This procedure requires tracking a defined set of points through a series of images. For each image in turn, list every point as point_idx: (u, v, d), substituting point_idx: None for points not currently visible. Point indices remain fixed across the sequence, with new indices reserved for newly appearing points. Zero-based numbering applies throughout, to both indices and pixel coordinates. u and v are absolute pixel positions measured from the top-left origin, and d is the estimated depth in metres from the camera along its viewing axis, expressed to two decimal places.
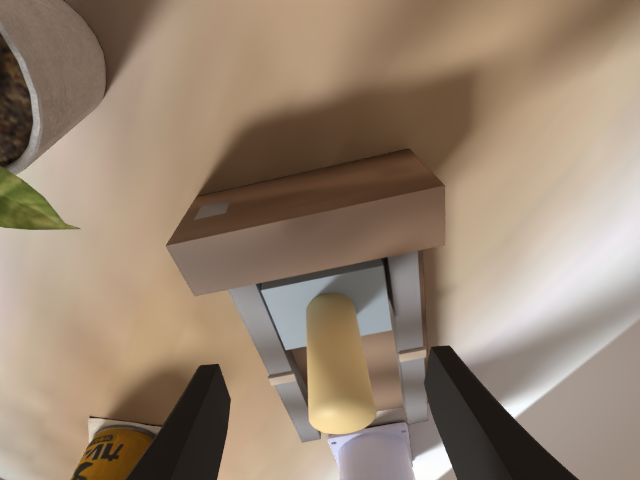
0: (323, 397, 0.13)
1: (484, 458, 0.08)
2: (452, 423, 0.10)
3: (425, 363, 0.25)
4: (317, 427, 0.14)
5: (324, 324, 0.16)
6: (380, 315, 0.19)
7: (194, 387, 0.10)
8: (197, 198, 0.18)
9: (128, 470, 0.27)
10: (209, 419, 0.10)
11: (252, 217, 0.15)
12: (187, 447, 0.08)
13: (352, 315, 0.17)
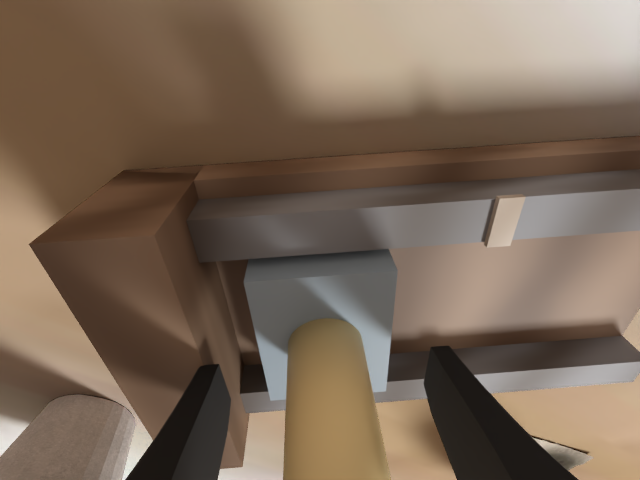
0: None
1: (484, 458, 0.08)
2: (452, 423, 0.10)
3: (590, 159, 0.11)
4: None
5: None
6: (352, 287, 0.11)
7: (194, 387, 0.10)
8: None
9: None
10: (209, 419, 0.10)
11: None
12: (188, 447, 0.08)
13: (303, 354, 0.11)
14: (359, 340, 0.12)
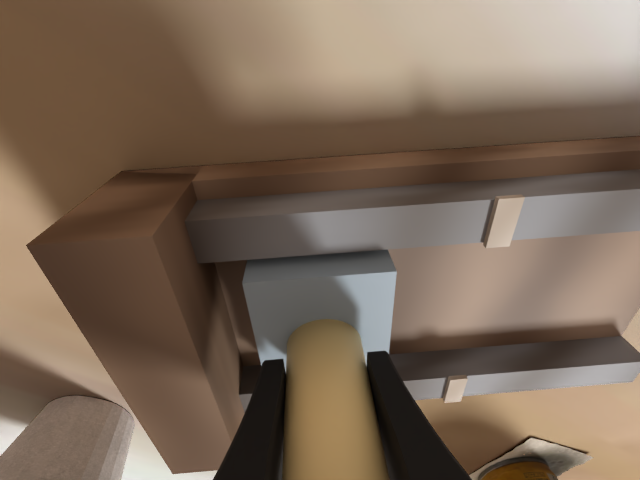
0: None
1: (399, 466, 0.08)
2: (381, 429, 0.10)
3: (589, 159, 0.11)
4: None
5: None
6: (351, 288, 0.11)
7: (265, 381, 0.10)
8: None
9: None
10: (281, 413, 0.10)
11: None
12: (270, 440, 0.08)
13: (302, 355, 0.10)
14: (358, 341, 0.12)
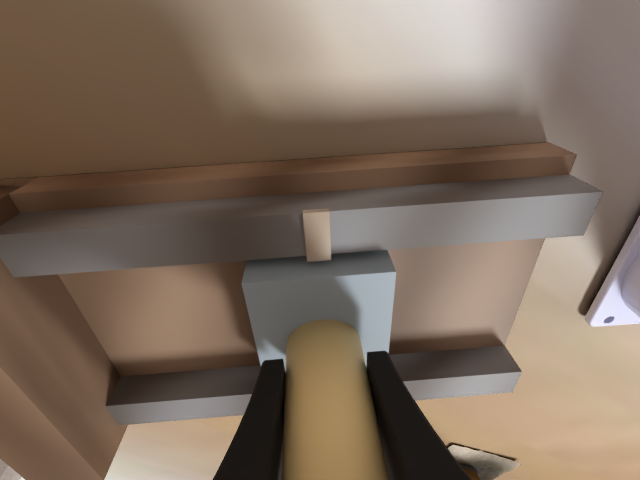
0: None
1: (399, 465, 0.08)
2: (380, 429, 0.10)
3: (417, 171, 0.11)
4: None
5: None
6: (351, 288, 0.11)
7: (265, 381, 0.10)
8: None
9: None
10: (281, 413, 0.10)
11: None
12: (270, 440, 0.08)
13: (302, 356, 0.10)
14: (358, 341, 0.11)
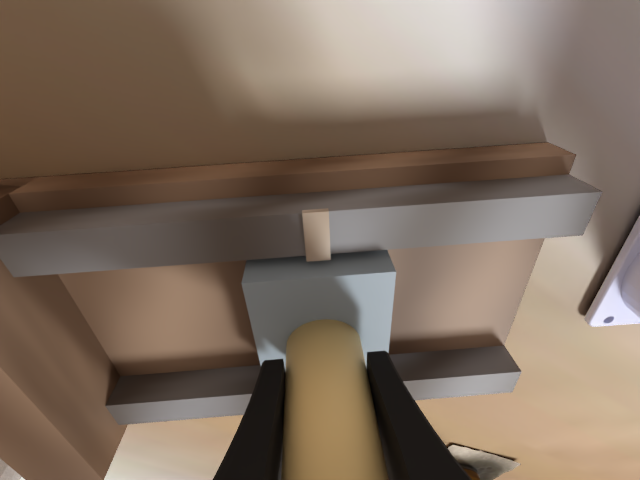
0: None
1: (399, 466, 0.08)
2: (381, 429, 0.10)
3: (416, 171, 0.11)
4: None
5: None
6: (350, 288, 0.11)
7: (265, 381, 0.10)
8: None
9: None
10: (280, 413, 0.10)
11: None
12: (270, 440, 0.08)
13: (302, 355, 0.10)
14: (358, 341, 0.12)
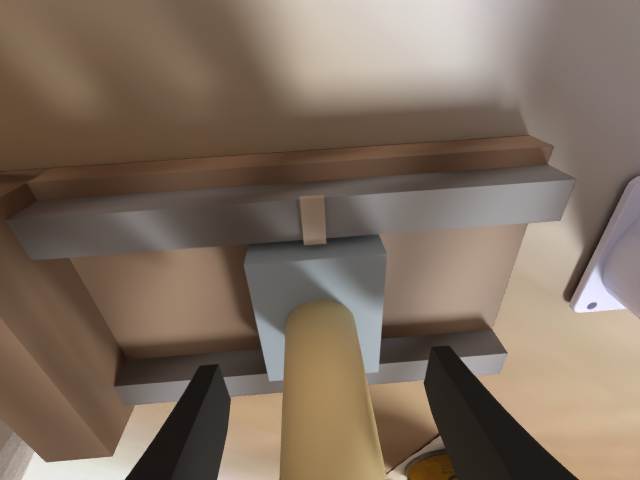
0: None
1: (484, 458, 0.08)
2: (452, 423, 0.10)
3: (406, 161, 0.12)
4: None
5: None
6: (345, 270, 0.12)
7: (194, 387, 0.10)
8: None
9: None
10: (209, 419, 0.10)
11: None
12: (187, 447, 0.08)
13: (300, 332, 0.11)
14: (352, 320, 0.12)
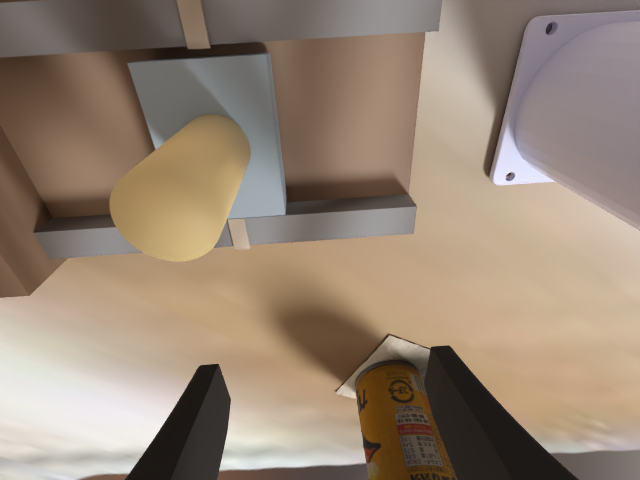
0: (127, 235, 0.09)
1: (484, 458, 0.08)
2: (452, 423, 0.10)
3: None
4: (198, 253, 0.09)
5: None
6: (228, 74, 0.12)
7: (194, 387, 0.10)
8: None
9: (380, 404, 0.25)
10: (209, 419, 0.10)
11: None
12: (187, 447, 0.08)
13: (181, 128, 0.12)
14: (241, 133, 0.13)
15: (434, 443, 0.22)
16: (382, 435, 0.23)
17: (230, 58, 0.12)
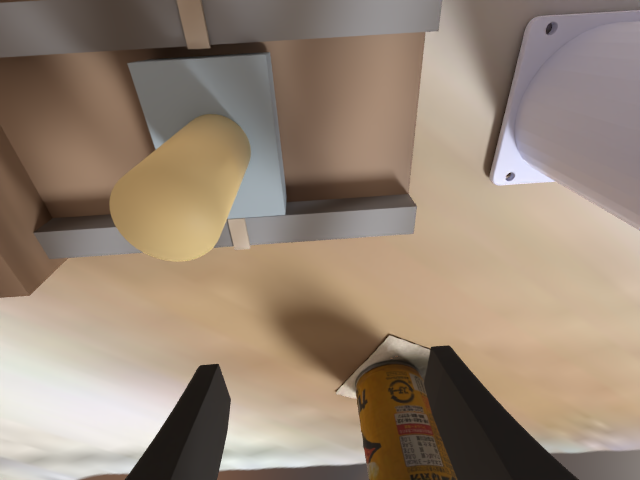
0: (127, 235, 0.09)
1: (484, 458, 0.08)
2: (452, 423, 0.10)
3: None
4: (198, 253, 0.09)
5: None
6: (228, 74, 0.12)
7: (194, 387, 0.10)
8: None
9: (380, 404, 0.25)
10: (209, 419, 0.10)
11: None
12: (187, 447, 0.08)
13: (181, 128, 0.12)
14: (241, 133, 0.13)
15: (434, 443, 0.22)
16: (382, 435, 0.23)
17: (230, 58, 0.12)
